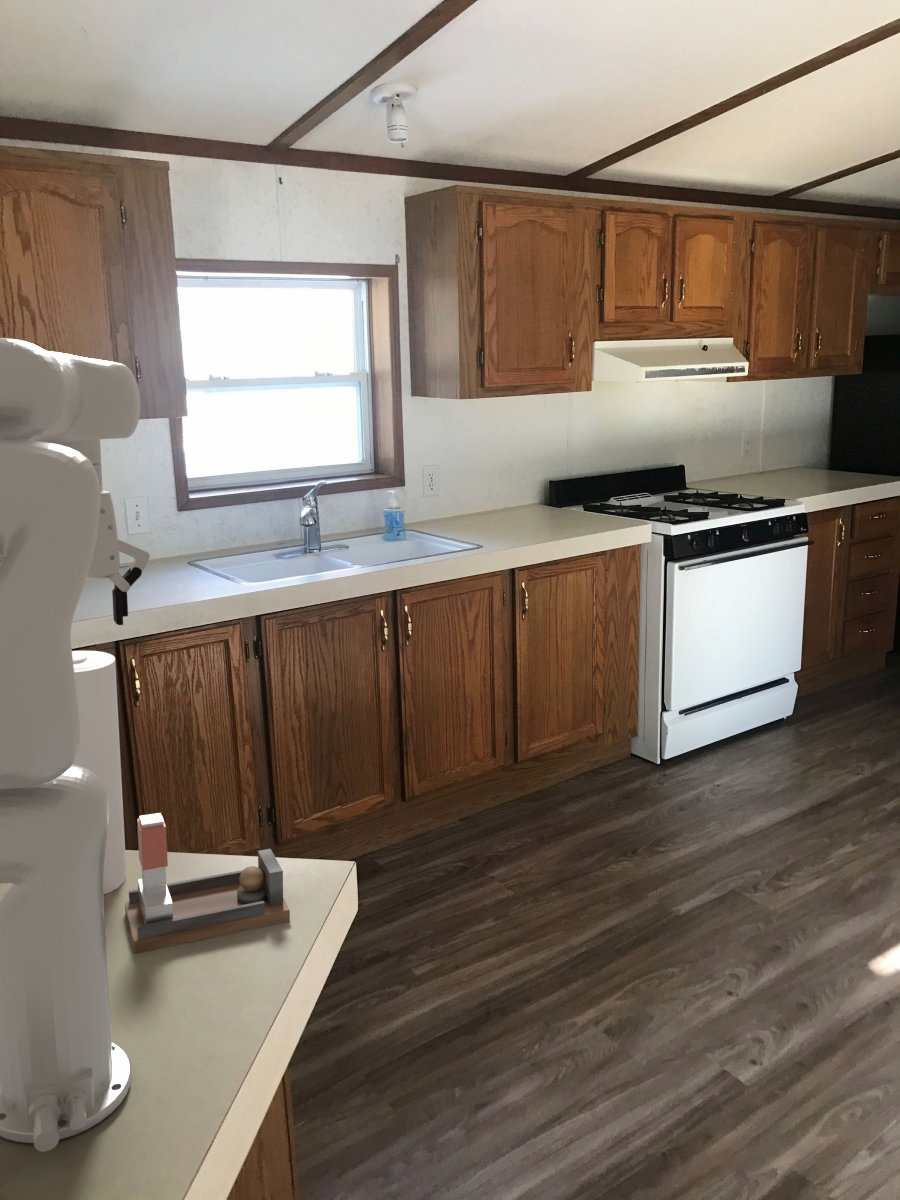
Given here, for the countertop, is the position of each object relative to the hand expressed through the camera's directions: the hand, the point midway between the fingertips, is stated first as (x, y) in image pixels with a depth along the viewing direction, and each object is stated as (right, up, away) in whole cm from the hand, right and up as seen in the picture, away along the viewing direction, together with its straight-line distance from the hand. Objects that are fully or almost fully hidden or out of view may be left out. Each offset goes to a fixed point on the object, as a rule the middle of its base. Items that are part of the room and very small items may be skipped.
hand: (75, 626), depth 114 cm
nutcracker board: (+15, -35, +4) cm, 38 cm away
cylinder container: (-3, -33, +12) cm, 35 cm away
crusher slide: (+9, -34, +1) cm, 35 cm away
